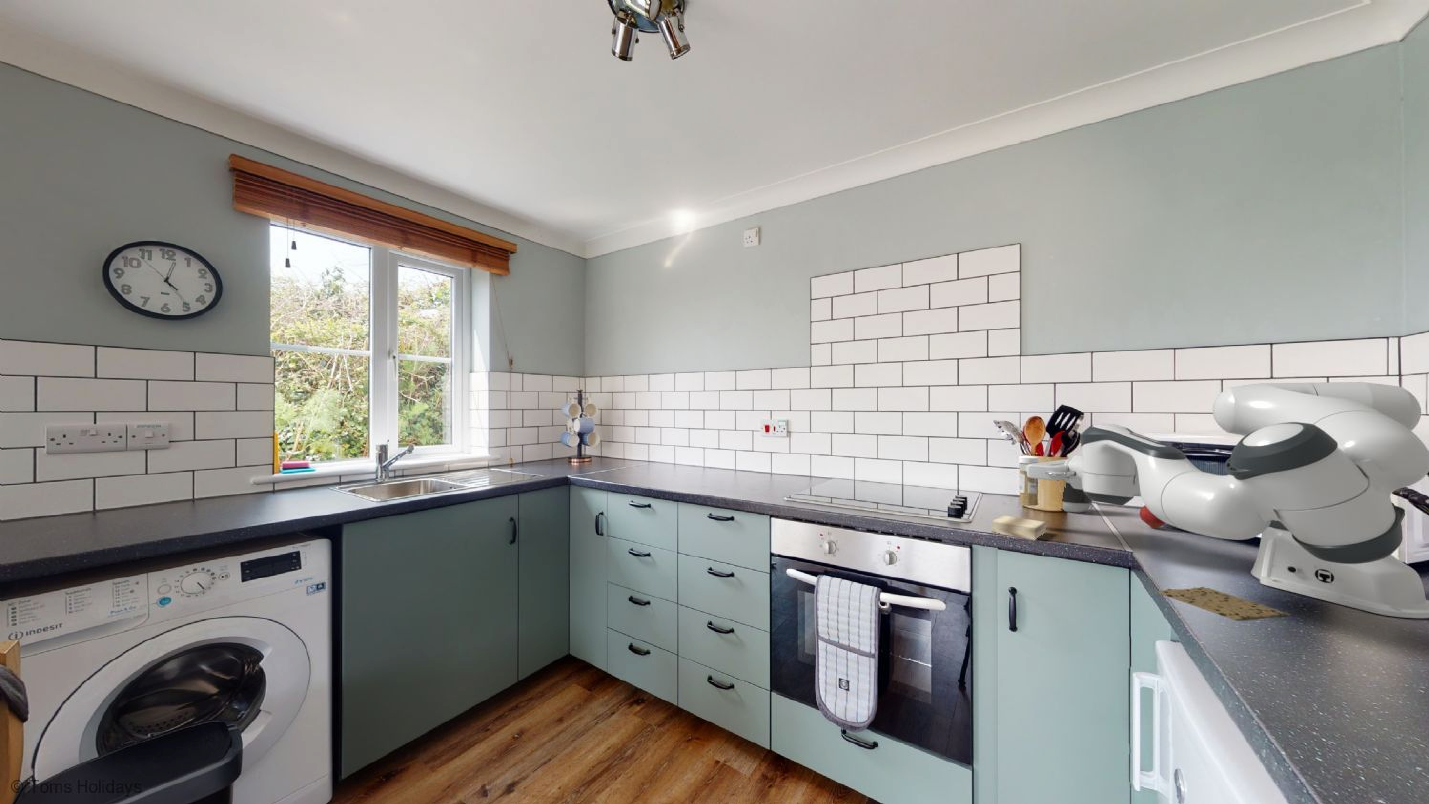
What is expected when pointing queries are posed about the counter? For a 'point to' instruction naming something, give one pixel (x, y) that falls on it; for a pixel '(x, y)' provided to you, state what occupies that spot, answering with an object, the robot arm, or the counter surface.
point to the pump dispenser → (1075, 500)
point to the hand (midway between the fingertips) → (1025, 466)
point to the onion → (1150, 518)
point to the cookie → (1223, 603)
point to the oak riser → (1019, 527)
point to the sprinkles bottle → (1028, 483)
